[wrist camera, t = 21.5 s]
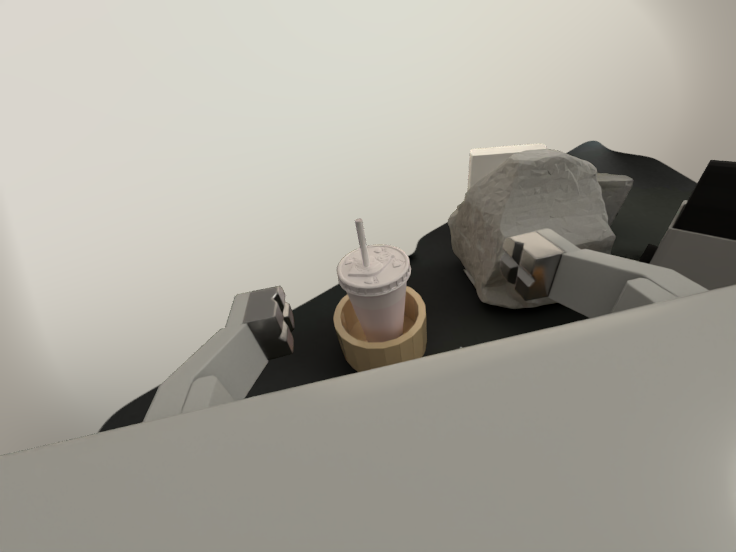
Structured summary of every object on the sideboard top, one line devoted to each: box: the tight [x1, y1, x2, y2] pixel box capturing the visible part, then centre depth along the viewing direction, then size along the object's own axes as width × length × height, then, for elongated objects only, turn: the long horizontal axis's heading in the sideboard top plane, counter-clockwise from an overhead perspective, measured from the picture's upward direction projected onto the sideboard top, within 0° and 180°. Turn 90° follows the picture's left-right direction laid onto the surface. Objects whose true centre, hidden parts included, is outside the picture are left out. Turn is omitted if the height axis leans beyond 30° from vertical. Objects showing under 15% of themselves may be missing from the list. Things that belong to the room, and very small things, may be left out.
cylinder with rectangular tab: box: [468, 143, 547, 190], centre depth 41 cm, size 9×9×12 cm
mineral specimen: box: [597, 173, 634, 227], centre depth 40 cm, size 7×9×8 cm
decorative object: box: [639, 160, 736, 290], centre depth 26 cm, size 8×18×15 cm, turn 133°
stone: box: [448, 149, 616, 309], centre depth 31 cm, size 12×12×15 cm
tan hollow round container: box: [333, 286, 427, 372], centre depth 30 cm, size 9×9×4 cm
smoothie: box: [337, 219, 411, 342], centre depth 26 cm, size 6×6×14 cm
